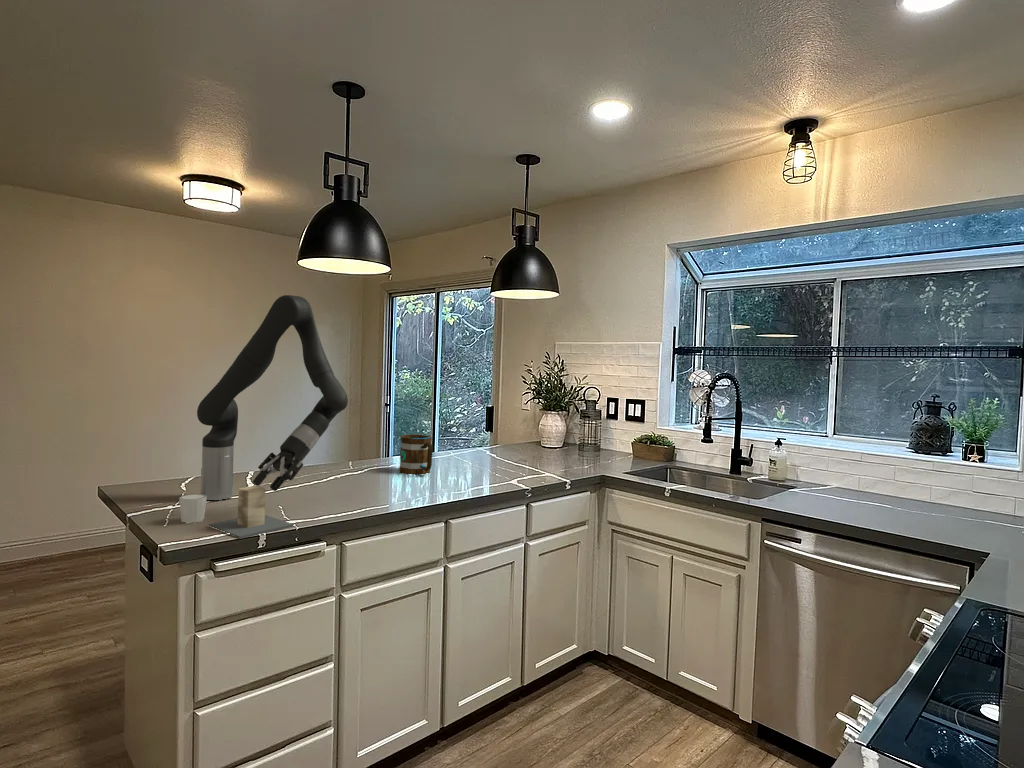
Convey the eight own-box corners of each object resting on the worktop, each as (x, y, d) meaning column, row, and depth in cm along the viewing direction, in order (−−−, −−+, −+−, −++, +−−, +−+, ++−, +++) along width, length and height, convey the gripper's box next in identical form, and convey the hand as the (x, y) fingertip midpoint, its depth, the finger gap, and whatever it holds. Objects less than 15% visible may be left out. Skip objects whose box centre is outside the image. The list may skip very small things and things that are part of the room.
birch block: (237, 524, 167) (238, 488, 167) (254, 520, 171) (255, 485, 171) (247, 527, 164) (248, 491, 164) (264, 524, 169) (265, 488, 168)
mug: (392, 470, 255) (394, 435, 255) (420, 467, 264) (422, 433, 263) (415, 479, 240) (416, 441, 239) (444, 476, 248) (445, 439, 248)
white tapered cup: (210, 518, 174) (211, 494, 174) (199, 524, 167) (199, 499, 167) (186, 517, 174) (186, 493, 173) (173, 523, 167) (174, 498, 167)
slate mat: (207, 526, 166) (207, 524, 166) (260, 515, 179) (260, 513, 179) (239, 538, 157) (239, 536, 157) (293, 526, 170) (293, 524, 170)
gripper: (278, 431, 181) (241, 474, 172) (307, 437, 173) (270, 482, 164) (293, 447, 186) (257, 490, 177) (322, 454, 177) (286, 499, 169)
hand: (263, 486), depth 170 cm, fingers open, 8 cm apart
